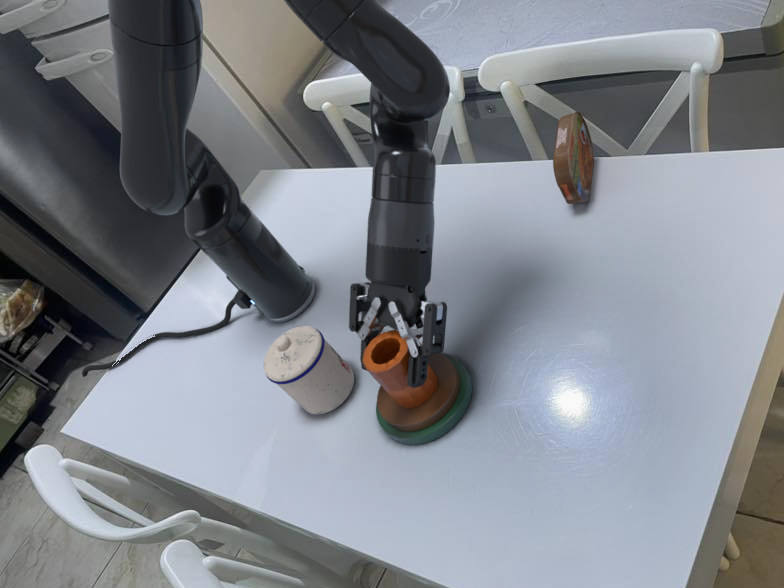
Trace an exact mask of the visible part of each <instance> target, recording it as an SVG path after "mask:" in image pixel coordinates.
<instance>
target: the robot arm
mask: <svg viewBox="0 0 784 588" xmlns="http://www.w3.org/2000/svg"><path fill="white" fill-rule="evenodd" d="M283 1H284V2H285V4H286V5H287V6H288V8H289V9H290V10H291V11H292V13H293V14H295V15H296V17H297V18H298V19H299V20H300V21H301V22H302V23H303V24H304V25H305V26H306V28H308V30H309V31H310V32H311V33H312V34H313V35H314V36H315V37H316V38H317V39H318V40H319V41H320V42H322V44H323V46H325V48H327V50H328V51H329V52H331V53H332V54H333V55H335V56H336V57H337V58H339V59H340V60H342V61H346V62H348V63H350V64H351V65H352V66H354V67H355V68H356V69H357V70H358V71H359V73H361V75H363V76H364V77H365V78H366V79H367V80H368V82H369V83H370V87H369V88H370V89H369V119H370V129H371V139H372V147H373V162H372V163H373V164H372V174H371V175H372V176H371V194H370V195H371V196H370V197H371V199H370V205H369V211H368V216H367V229H366V231H367V232H366V233H367V234H366V255H365V278H366V279H367V280H368V282H366V281H365V282H357V283H352V284H350V291H349V311H348V313H349V315H348V329H349V331H350V332H352V333H353V332H355V333H356V334H357V335H358V338H359V340H360V358H359V359H360V364H361V366H360V367H361V369H362V370H364V371H367V372H369V371H368V370H367V369H366V367H365V365H364V363H363V355H364V350H365V349H366V347H367V346H368V345H369V343H370V342H371V340H372V339H374V338H375V337H377V336H378V335H380V334H381V333H383V332H384V329H385V328H387V327H390V328H392V330H398V331H399V333H400V335H401V338H402V339H403V340H405V341H406V343H407V345H408V348H409V351H410V353H411V356H410V357H409V365H408V381H407V385H408V386H409V387H412V388H416V387H420V386H422V385H423V384H424V382H426V380H427V372H428V371H427V370H428V359H429V356H430V355H433V354H437V353H444V351H445V342H446V329H447V318H448V317H447V316H448V305H447V302H446V301H436V302H435V301H431V300H428V297H427V293H426V288H427V286H428V284H429V283H430V282H431V281H432V280H431V279H432V266H433V252H434V251H433V250H434V238H435V237H434V236H435V209H434V208H435V203H434V202H435V189H436V178H437V177H436V176H437V161H436V157H435V154H434V153H433V151H431V149H430V147H429V120H431V119H433V118H435V117H436V116H438V115H439V114H441V113H442V112H443V110H444V109H445V108H446V106H447V104H448V101H449V98H450V92H451V83H450V79H449V75H448V71H446V67H445V66H444V64H443V63H442V61H441V60H440V59H439V57H438V56H437V54H436V53H435V52H434V51H433V50H432V49H431V48H430V47H429V46H428V45H427V44H426V43H425V42H424V40H422V39H421V38H420V36H418V35H417V34H415V33H414V32H413V31H412V30H411V29H410V28H409V27H407V26H406V25H405V24H404V23H403V22H402V21H401V20H399V19H398V18H397V17H396V16H395V15H393V14H392V13H390V12H389V11H388V10H387V9H386V8H385V7H384V6H383V5H382V4H381V3H380V2H379V0H283ZM107 11H108V19H109V28H110V39H111V45H112V53H113V59H114V68H115V78H116V88H117V96H118V104H119V113H120V127H121V129H120V132H121V133H120V134H121V135H120V151H119V152H120V153H119V154H120V155H119V177H120V178H119V179H120V181H121V184H122V187H123V189H124V191H125V192H126V193H127V195H128V197H129V198H130V199H131V200H132V201H133V202H134V204H136V205H137V206H138V207H139V208H141V209H143V210H144V211H146V212H148V213H150V214H152V215H156V216H171V215H175V214H177V213H179V212H181V211H183V210H184V230H185V233H186V235H187V236H188V238H189V239H190V240H191V241H192V242H193V244H195V245H196V246H197V247H198V248H199V249H200V250H201V252H203V253H204V254H205V255H206V256H207V257H208V259H210V260H211V261H212V262H213V263H214V264H215V266H217V267H218V268H219V269H220V271H222V272H223V273H224V274H225V275H226V276H225V277H226V279H227V280H228V281H229V282H230V283H231V285H233V287H235V289H237V291H236V293H235V295H234V296H233V298H232V299H231V300H230V301H229V302H228V303H227V305H226V307H225V314H224V318H223V319H222V320H221V321H220V322H218V323H216V324H214V325H211V326H207V327H203V328H198V329H191V330H186V331H181V332H173V331H172V332H171V331H164V332H158V333H155V334H153V336H154V335H155V337H152V338H150V339H147V340H146V341H144V342H142V343H141V344H139V345H138V346H137V347H135V348H134V349H133V350H132V351H130V352H129V353H128V354H126V355H125V356H124V357H122V358H121V360H120V361H119V360H118V361H117V362H116V360H117V359H115V360H113V361H110V362H108V363H104V364H92V365H87V366H85V367H84V368H83V369H82V371H81V376H82V378H85V377H87V376H88V374H89V372H91V371H103V370H108V369H109V370H110V369H112V368H114V367H116V366H118V365H120V364H121V363H124V361H126V360H127V359H129V358H130V357H131V356H133V355H134V354H135V353H136V352H138V351H139V350H140V349H142V348H143V347H145V346H146V345H148V344H150V343H151V342H153V341H156V340H159V339H162V338H175V339H180V338H182V339H183V338H189V337H192V336H199V335H204V334H209V333H212V332H215V331H217V330H220V329H221V328H223V327H225V326H226V325H227V324H228V323H229V322H230V321H231V318H232V310H233V309H234V306H235V305H237V306H238V307H239V308H240V309H241V310H249V309H251V307H252V306H253V307H254V308H255V309H256V310H257V311H258V312H259V313H260V314H261V315H262V316H265V317H266V318H267V319H268V320H269V321H270V322H273V323H284V322H285V323H286V322H288V321H291V320H292V319H294V318H296V317H298V316H299V315H301V313H303V312H304V311H305V310H307V308H308V307H309V305H311V303H312V301H313V299H314V297H315V294H316V284H315V282H314V281H313V279H312V278H311V277H310V276H308V275H307V271H306V269H304V267H303V266H301V265H300V264H298V262H297V261H296V260H295V259H294V258H293V257H292V256H291V254H290V253H289V252H288V251H287V250H286V248H284V246H283V245H282V244H281V243H280V241H278V239H277V238H276V237H275V236H274V235H273V234H272V233H271V231H270V229H268V228H267V227H266V225H265V224H264V223H263V222H262V220H260V219H259V217H258V216H257V215H256V214H255V212H254V211H253V210H252V209H251V208H250V207H249V206H248V205H247V204H246V203H245V201H244V200H243V197H242V194H241V191H240V189H239V186H238V185H237V183H236V182H235V180H234V179H233V178H232V176H231V175H230V174H229V172H228V171H227V170H226V168H225V167H224V166H223V164H222V163H221V162H220V160H219V159H218V158H217V157H216V155H214V153H213V152H212V151H211V149H210V148H209V146H207V144H206V143H205V142H204V141H203V140H202V139H201V138H200V137H199V136H198V135H197V134H196V133H194V132H193V131H192V130H190V129H189V128H187V126H188V122H189V118H190V116H191V111H192V108H193V104H194V101H195V97H196V93H197V89H198V85H199V80H200V76H201V71H202V65H203V64H202V63H203V49H204V47H203V46H204V44H203V43H204V42H203V41H204V38H203V37H204V21H203V19H204V18H203V17H204V16H203V8H202V3H201V0H107ZM360 313H361V315H360ZM359 317H360V320H359ZM414 326H415V327H416V328H413V327H414ZM412 328H413V329H412ZM115 362H116V363H115ZM118 362H119V363H118ZM114 363H115V364H114ZM117 363H118V364H117ZM113 364H114V365H113ZM116 364H117V365H116ZM112 365H113V367H112ZM115 365H116V366H115Z"/></svg>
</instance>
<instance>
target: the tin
mask: <svg viewBox="0 0 784 588" xmlns="http://www.w3.org/2000/svg"><path fill="white" fill-rule="evenodd" d="M594 161H595V160H594V146H593V142H592V138H591V134H590V130H589V128H588V125H587V122H586V120H585V118H584V117H583V114H582V113H581V112H579V111H574V112H573V113H570V114H566V115H563V116H561V117H560V118H559V119H558V122H557V128H556V135H555V142H554V148H553V154H552V168H553V174H554V179H555V183H556V185H557V187H558V188H559V190H560V192H561V195H562V197H563V198H564V201H565V203H567V204H568V205H576V204H580V203H583V202H584V203H585V202H586V203H587V202H588V201H589V199H590V197H591V190H592V179H593V169H594Z"/></svg>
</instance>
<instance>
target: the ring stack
mask: <svg viewBox="0 0 784 588" xmlns="http://www.w3.org/2000/svg"><path fill="white" fill-rule="evenodd" d="M428 364H429V365H430V366H431V368H432V369H433V370H434V372H435V374H436V375H437V377H438V381H437V388H436V390H435V392H434V393H433V395H432V396H431V398H430V399H429V400H427V401H426V402H424V403H423V404H421V405H420V406H417V407H412V408H405V407H403V406H400V405H398V404H397V403H396V401H395V400H394V399H393V398H392V397H391V396H390V395H389V394H388V393H387V391H386V390H385V389H384V388H383V387H382V386H381V385H380V386H379V388H378V392H377V396H376V405H375V415H376V419H377V423H378V424H379V426H380V427H381V429H382V430H383V431H384V432H385V433H386V434H387V435H388V436H389V437H390V438H391V439H392V440H394V441H396V442H398V443H401V444H405V445H422V444H426V443H429V442H432V441H435V440H437V439H439V438H441V437H442V436H444V435H445V434H447V433H448V432H449V431H451V429H453V428H454V427H455V426H456V425H457V424H458V423H459V421H461V419H462V418H463V416H464V415H465V413H466V411H467V410H468V407H469V405H470V402H471V400H472V394H473V383H472V378H471V376H470V374H469V372H468V370H467V369H466V368H465V366H464V365H463V363H462V361H460V360H459V359H458V358H456V357H455V356H453V355H451V354H448V353H445V352H442V353H437V354H433V355H430V356H429V359H428Z"/></svg>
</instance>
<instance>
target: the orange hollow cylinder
mask: <svg viewBox="0 0 784 588" xmlns="http://www.w3.org/2000/svg"><path fill="white" fill-rule="evenodd" d="M410 356H411V353H410V351H409V348H408V345H407V343H406V341H405V340H403V339H402V338H401V335H400V333H399V330H395V329H392V330H387V331H382V332H381V334H380V335H378V336H377V337H375V338H374V339H372V340H371V342H370V343H369V345H368V346H367V347H366V349H365V350H364V355H363V363H364V365H365V367H366V369H367V370H368V371H367V370H366V371H367V372H368V373H369V374H370V375H371V376H372V377H373V379H374V380H375V381H376V382H377V383H378V384H379V385H380V386H382V387H383V388H384V389H385V390H386V391H387V393H388V394H389V395H390V396H391V397H392V398H393V399H394V400H395V401H396V403H397V404H398V405H400V406H403V407H405V408H412V407H417V406H420V405H421V404H423V403H424V402H426V401H427V400H429V399H430V398H431V396H432V395H433V393H434V392H435V390H436V388H437V381H438V377H437V375H436V374H435V372H434V370H433V369H432V368H431V366H430V365H429V364H428V370H427V371H428V372H427V380H426V382H424V384H423V385H422V386H420V387H416V388H412V387H409V386H408V385H407V381H408V365H409V357H410Z"/></svg>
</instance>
